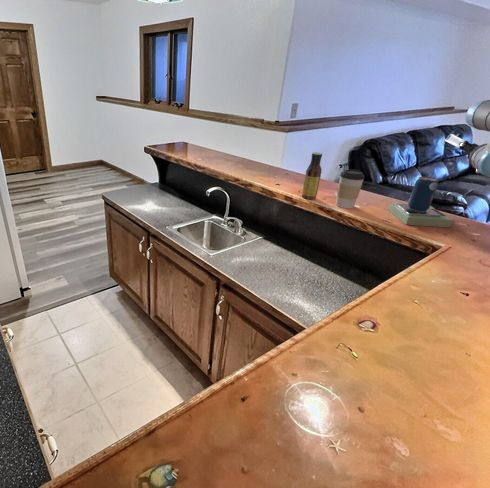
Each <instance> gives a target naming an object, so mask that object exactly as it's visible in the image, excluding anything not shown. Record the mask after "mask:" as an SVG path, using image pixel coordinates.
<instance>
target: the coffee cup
mask: <svg viewBox="0 0 490 488" xmlns="http://www.w3.org/2000/svg"><path fill="white" fill-rule="evenodd" d="M364 180H365V174H364V173H363V171H362V170H360V169H357V168H353V169H344V170H343V171H342V172H340V175H339V181H338V187H337V191H336V201H335V206H336V205H337V207H338V206H339V207H338V208H341V207H342V209H346V208H351V209H353V208H354V207H355V204H356V201H357V199H358V197H359V194H360V192H361V189H362V186H363V182H364Z"/></svg>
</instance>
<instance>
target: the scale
mask: <svg viewBox="0 0 490 488" xmlns="http://www.w3.org/2000/svg"><path fill="white" fill-rule="evenodd" d="M430 208H431V209H432V210H434V211H435V212H437V213H438V214H440V215H441V216H440V217H428V216H412V215H407V214H406V213H405V212H403V211H402V210H401V209H400V208H398V207H397V206H396V203H390V206H389V208H388V211H389V212H390V214H392V215H394V216H395V217H396V218H397V219H398V220H399V221H401V222H402V223H403V224H404V225H407V226H418V227H419V226H420V227H421V226H422V227H435V228H451V225H452V223H453V219H452V218H450V217H449V216H447V215H446V214H444V213H443V212H441V211H439V210H438V209H436V208H435V207H433V206H432V205H430Z"/></svg>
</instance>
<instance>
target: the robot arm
mask: <svg viewBox="0 0 490 488" xmlns="http://www.w3.org/2000/svg"><path fill="white" fill-rule="evenodd" d="M465 122H466V124H467V125H468V126H469V127H471V128H473V129H476V130H477V131H484V132H488V133H490V99H486V100H479V101H477V102H475V103H474V104H472V106H470V107H469V108H468V110H467V112H466V114H465ZM461 137H462V134H461V135H460V134H459V133H458V134H457V135H455V134H454V133H450V134H449V135H448V136H447V137H446V138H445V139H444V142H445V143H448V144H450V145H451V146H453V147H456V148H458V150H461V151H464V154H465V155H467V156H468V161H469V162H468V163H469V164H470V166H471V167H472V168H474V169H475V173H476V174H480V175H482V176H485V177H488V178H490V140H489V141H488V142H486V143H483V144H480V145H479V144H477V143H475V142H474V143H471V142H469V141H468V140H465V139H463V138H461Z"/></svg>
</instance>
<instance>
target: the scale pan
mask: <svg viewBox="0 0 490 488" xmlns="http://www.w3.org/2000/svg"><path fill="white" fill-rule="evenodd" d="M395 204H396V206H397V207H398V208H400V209H401V210H402V211H403V212H405V213H406V214H407V215H412V216H428V217H440V216H441V215H440V214H438V213H437V212H435V211H434V210H432V209H431V208H429V209H428V210H426V211H424V212H420V211H414V210H411V209H410V208H409V206H408V203H399V202H398V203H397V202H396V203H395Z"/></svg>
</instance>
